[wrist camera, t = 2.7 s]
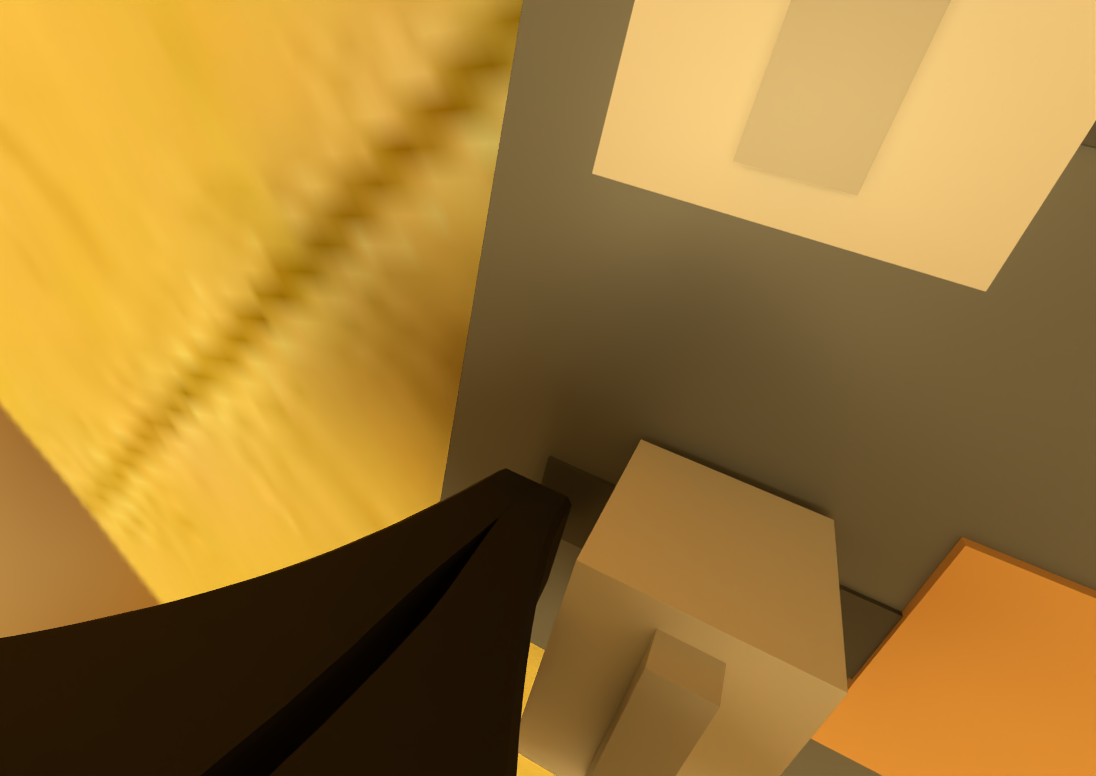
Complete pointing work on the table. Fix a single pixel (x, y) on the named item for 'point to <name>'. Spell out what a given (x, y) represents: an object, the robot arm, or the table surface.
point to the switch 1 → (859, 118)
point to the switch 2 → (690, 632)
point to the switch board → (808, 416)
